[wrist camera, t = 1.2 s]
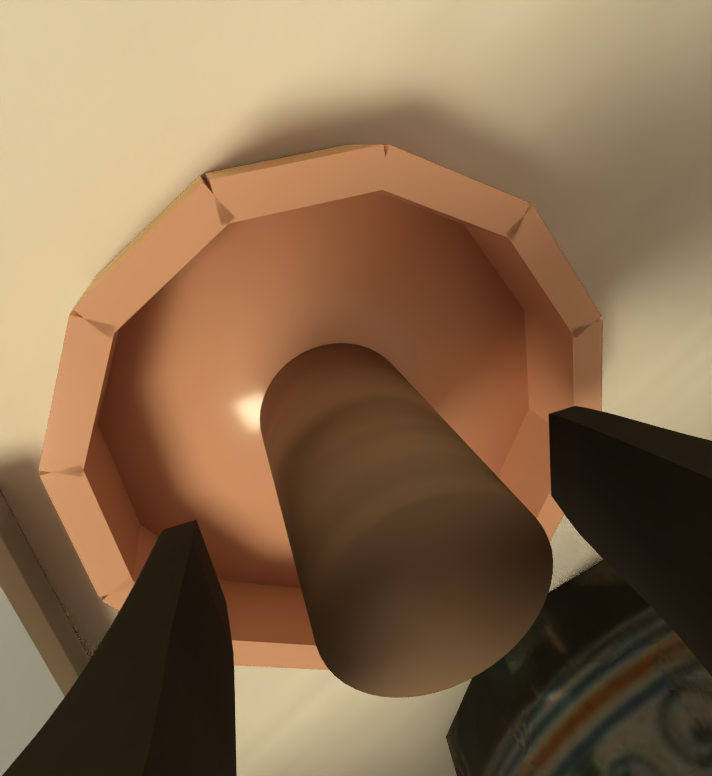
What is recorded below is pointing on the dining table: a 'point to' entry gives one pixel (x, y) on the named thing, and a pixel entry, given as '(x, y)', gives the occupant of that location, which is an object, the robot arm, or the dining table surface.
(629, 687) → the beer stein
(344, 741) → the dining table surface
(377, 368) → the walnut peg
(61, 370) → the terracotta bowl
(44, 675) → the slate tray
